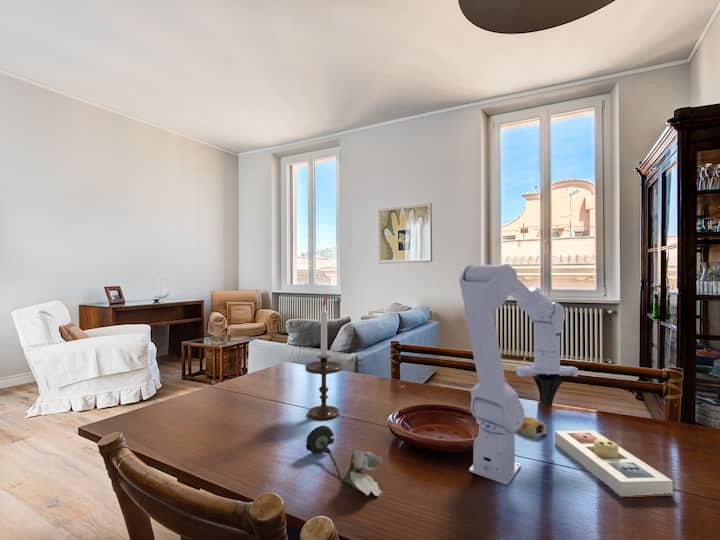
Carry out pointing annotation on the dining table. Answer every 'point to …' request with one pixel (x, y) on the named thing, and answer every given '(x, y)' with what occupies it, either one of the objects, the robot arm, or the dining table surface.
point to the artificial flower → (359, 460)
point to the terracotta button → (584, 438)
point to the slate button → (630, 470)
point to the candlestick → (323, 374)
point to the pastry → (532, 427)
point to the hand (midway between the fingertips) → (546, 404)
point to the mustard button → (605, 449)
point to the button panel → (614, 467)
